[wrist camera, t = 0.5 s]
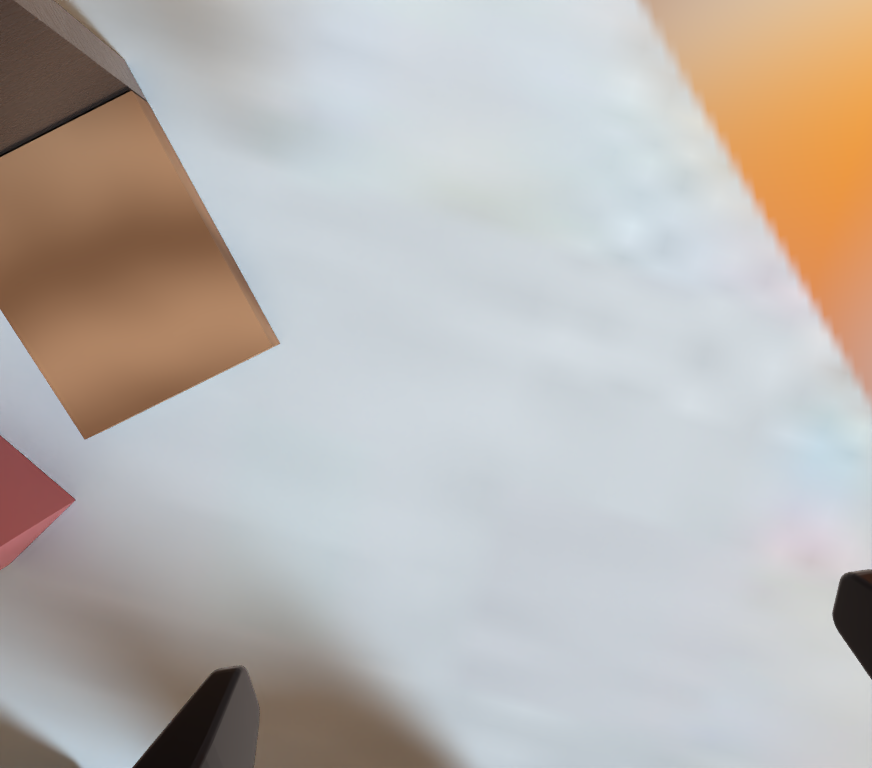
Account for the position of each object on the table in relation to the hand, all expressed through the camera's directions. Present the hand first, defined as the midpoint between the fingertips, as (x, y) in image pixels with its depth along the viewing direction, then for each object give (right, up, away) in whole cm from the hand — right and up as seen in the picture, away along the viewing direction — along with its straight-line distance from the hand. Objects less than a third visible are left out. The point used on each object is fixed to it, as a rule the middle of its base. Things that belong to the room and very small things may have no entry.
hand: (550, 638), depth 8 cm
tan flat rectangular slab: (-13, +7, +12) cm, 19 cm away
